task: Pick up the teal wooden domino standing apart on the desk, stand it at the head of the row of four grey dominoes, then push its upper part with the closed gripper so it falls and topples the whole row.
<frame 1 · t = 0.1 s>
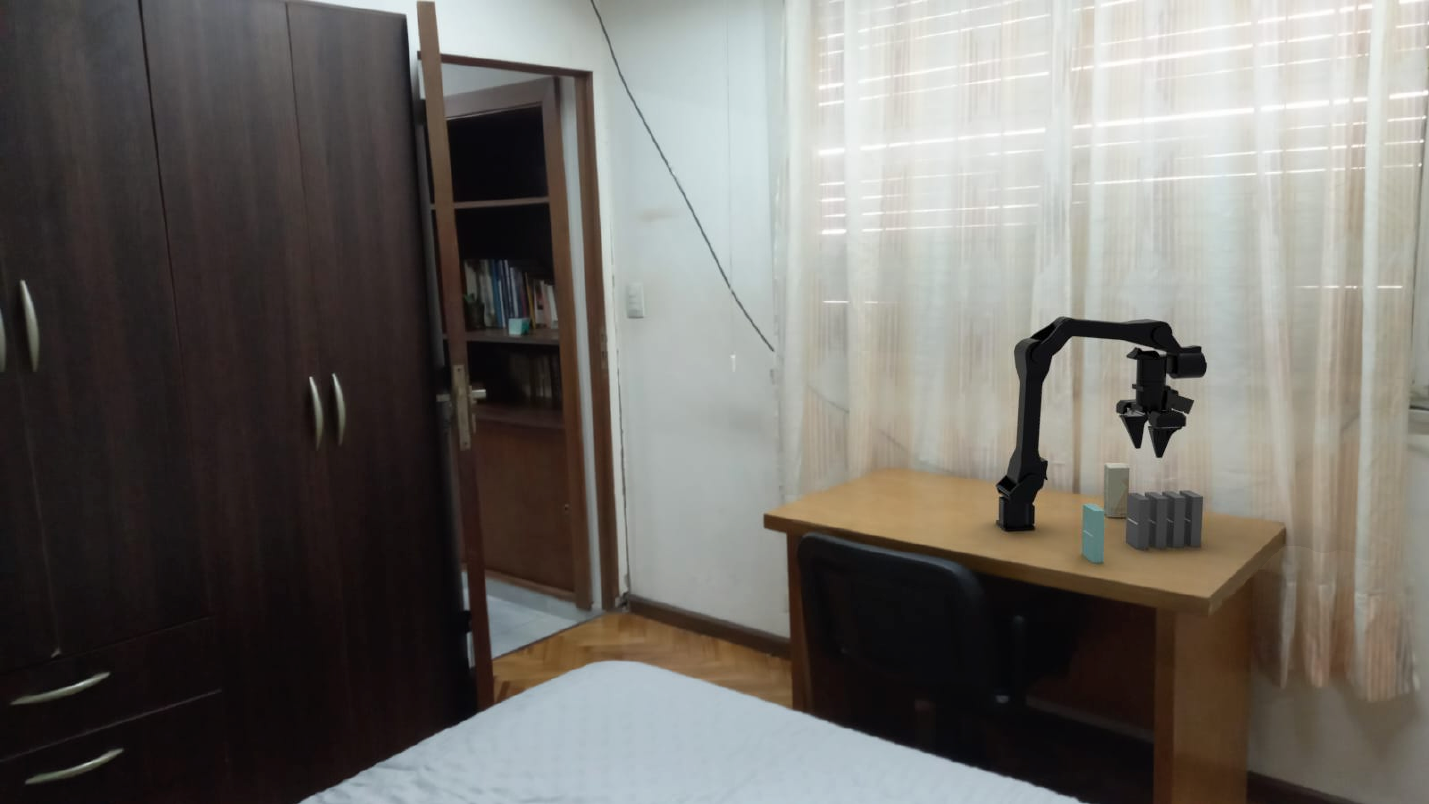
hand: (1148, 453, 202), 15 cm above the table, fingers open, 9 cm apart
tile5: (1189, 542, 188), on the table
box: (1115, 515, 209), on the table
tile3: (1154, 544, 188), on the table
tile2: (1136, 545, 188), on the table
head tile: (1092, 558, 182), on the table
tile4: (1171, 543, 188), on the table
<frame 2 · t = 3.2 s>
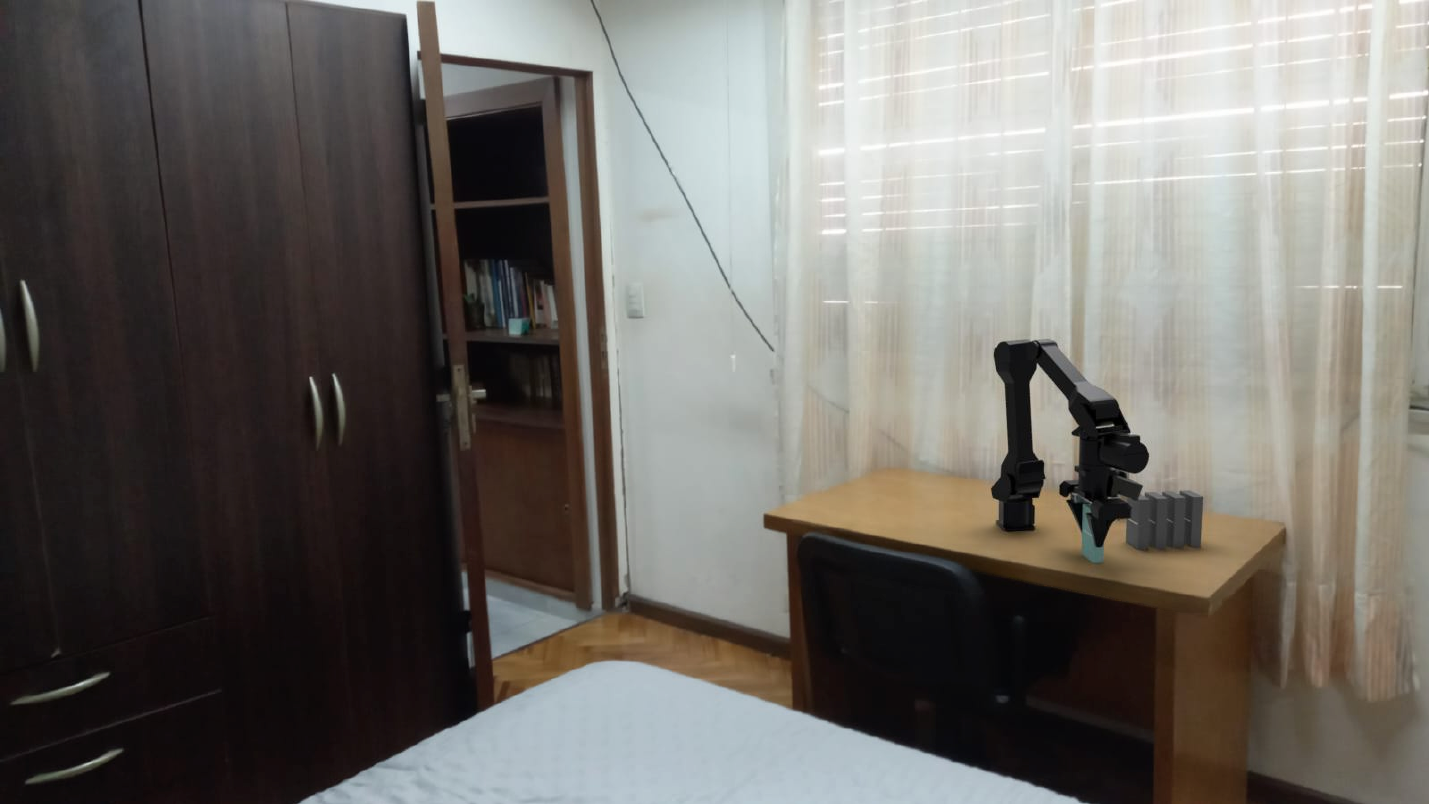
hand: (1092, 542, 181), 3 cm above the table, fingers closed on head tile, 5 cm apart
head tile: (1092, 558, 182), on the table, touching gripper
everything else where it was.
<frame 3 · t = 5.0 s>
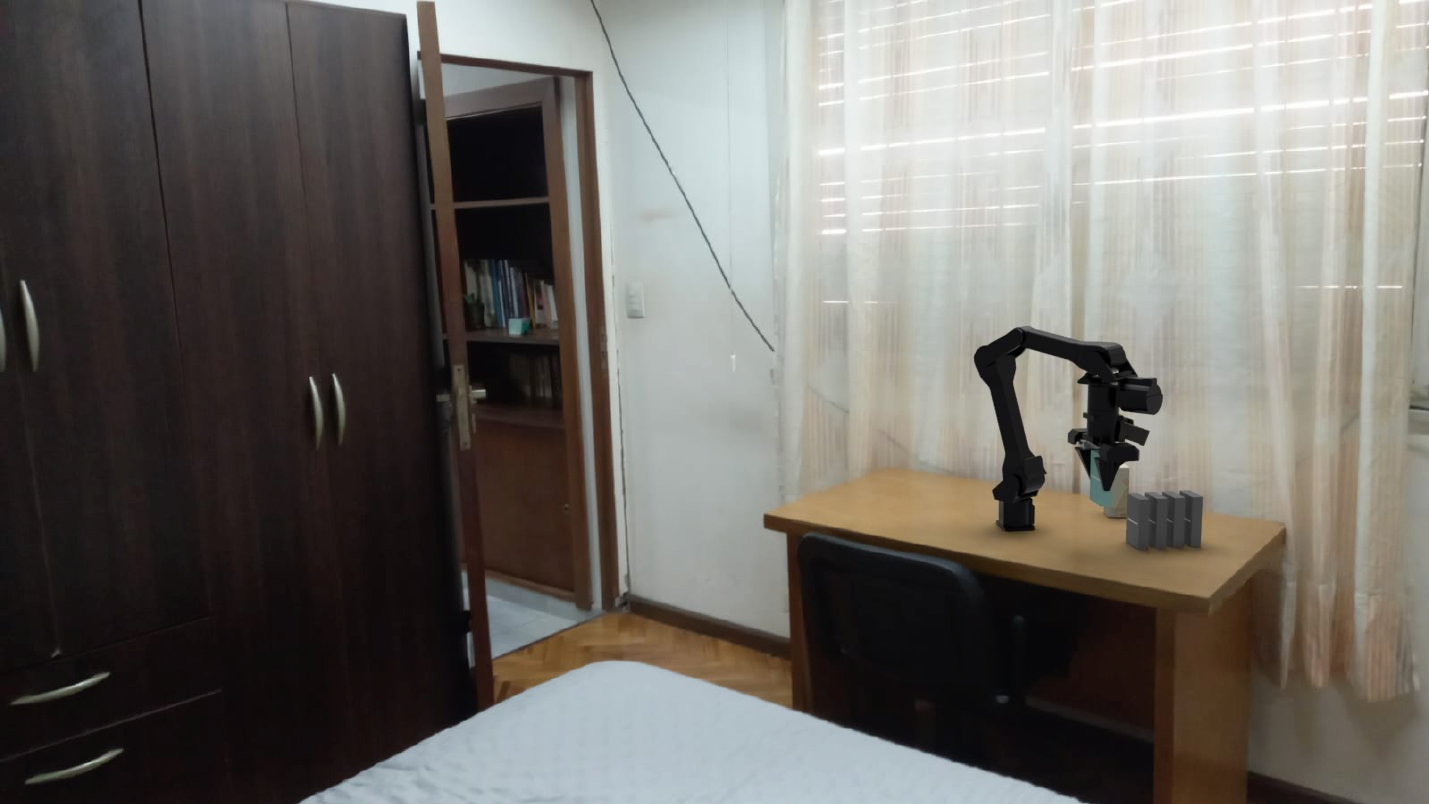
hand: (1100, 487, 186), 12 cm above the table, fingers closed on head tile, 5 cm apart
head tile: (1100, 502, 186), point 9 cm above the table, touching gripper
everything else where it was.
when the fingers open (3 cm above the table, at t = 6.8 s): head tile stays where it is, on the table.
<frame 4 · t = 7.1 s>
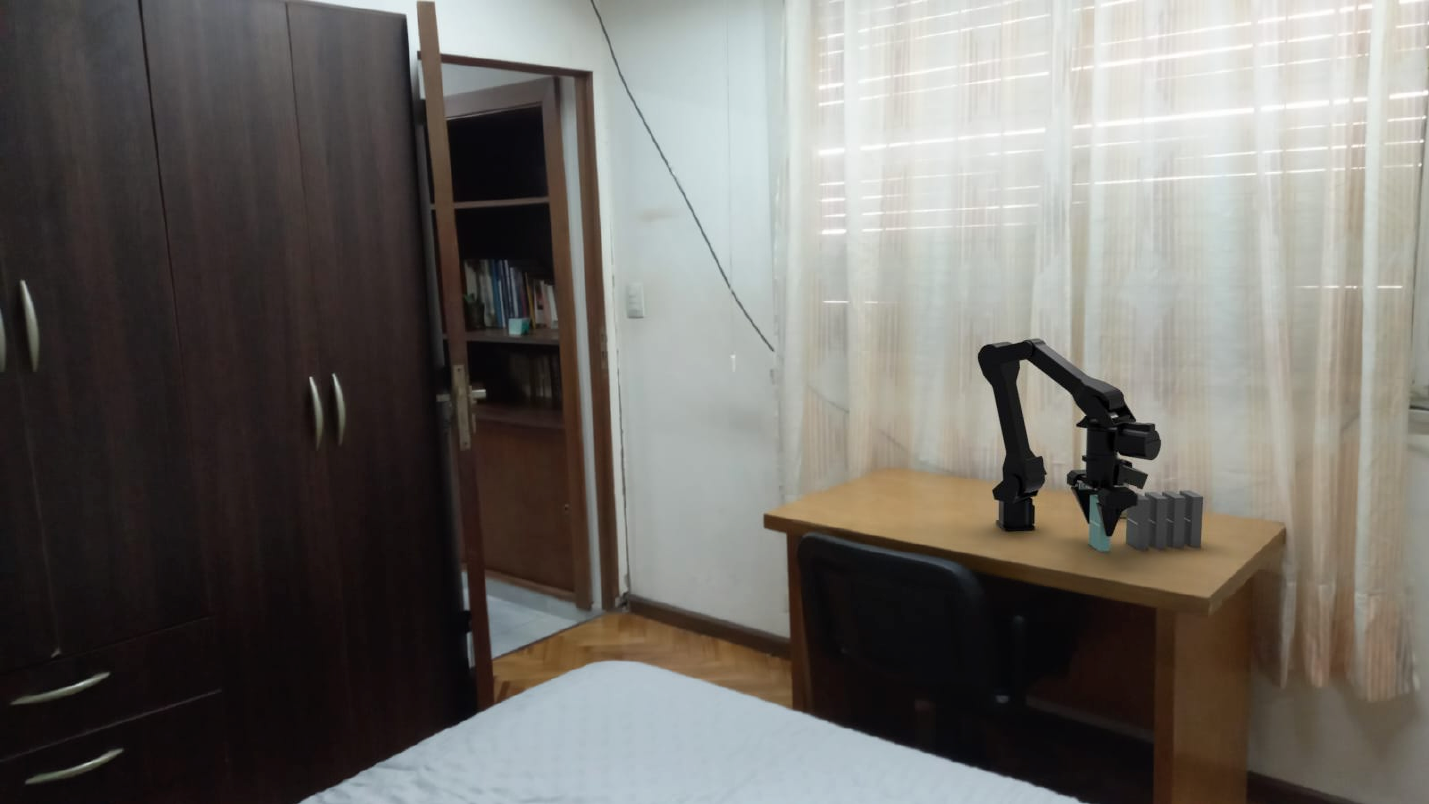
hand: (1099, 530, 187), 3 cm above the table, fingers open, 8 cm apart
head tile: (1099, 547, 188), on the table
everything else where it was.
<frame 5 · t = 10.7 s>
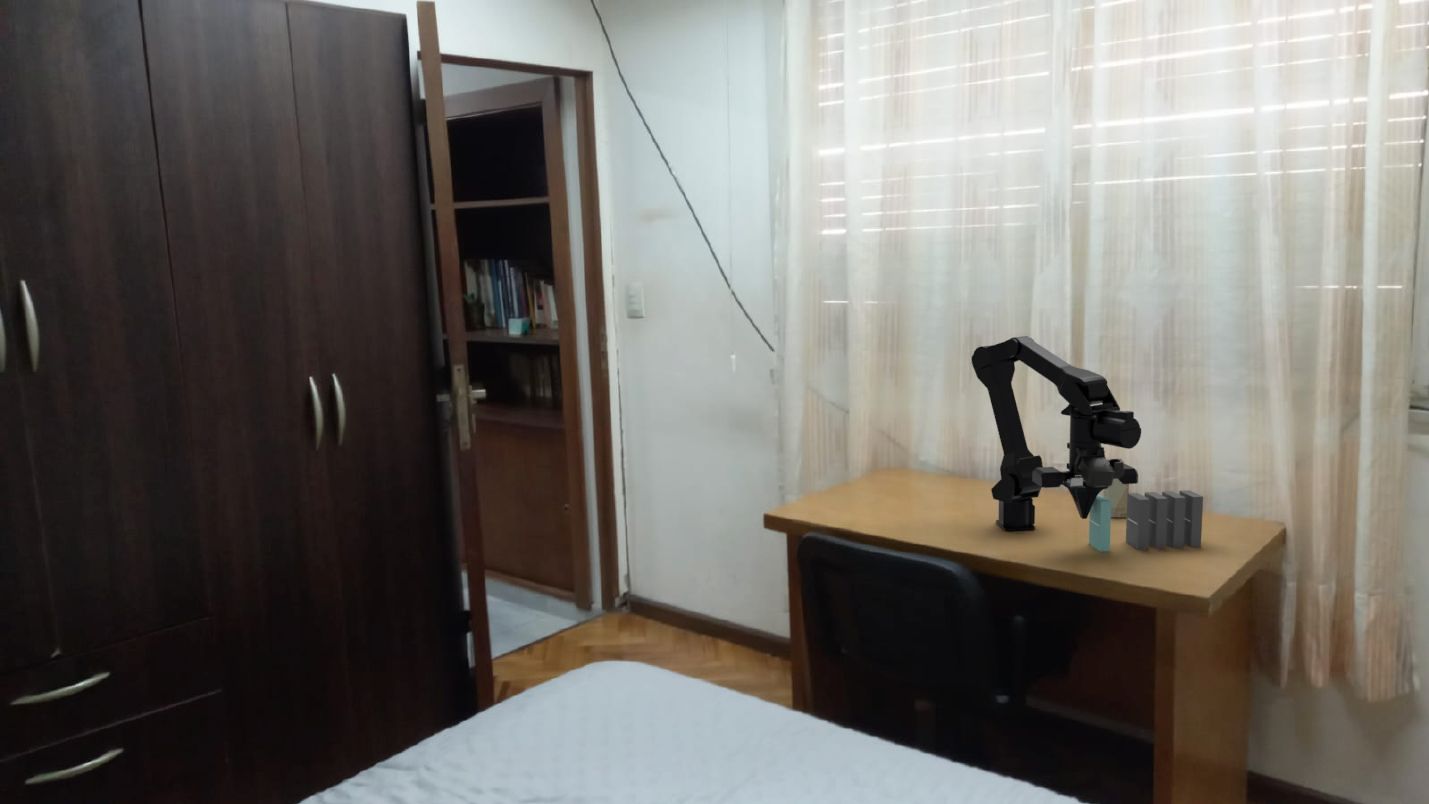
hand: (1083, 518, 186), 6 cm above the table, fingers closed
head tile: (1099, 547, 188), on the table, touching gripper
everything else where it was.
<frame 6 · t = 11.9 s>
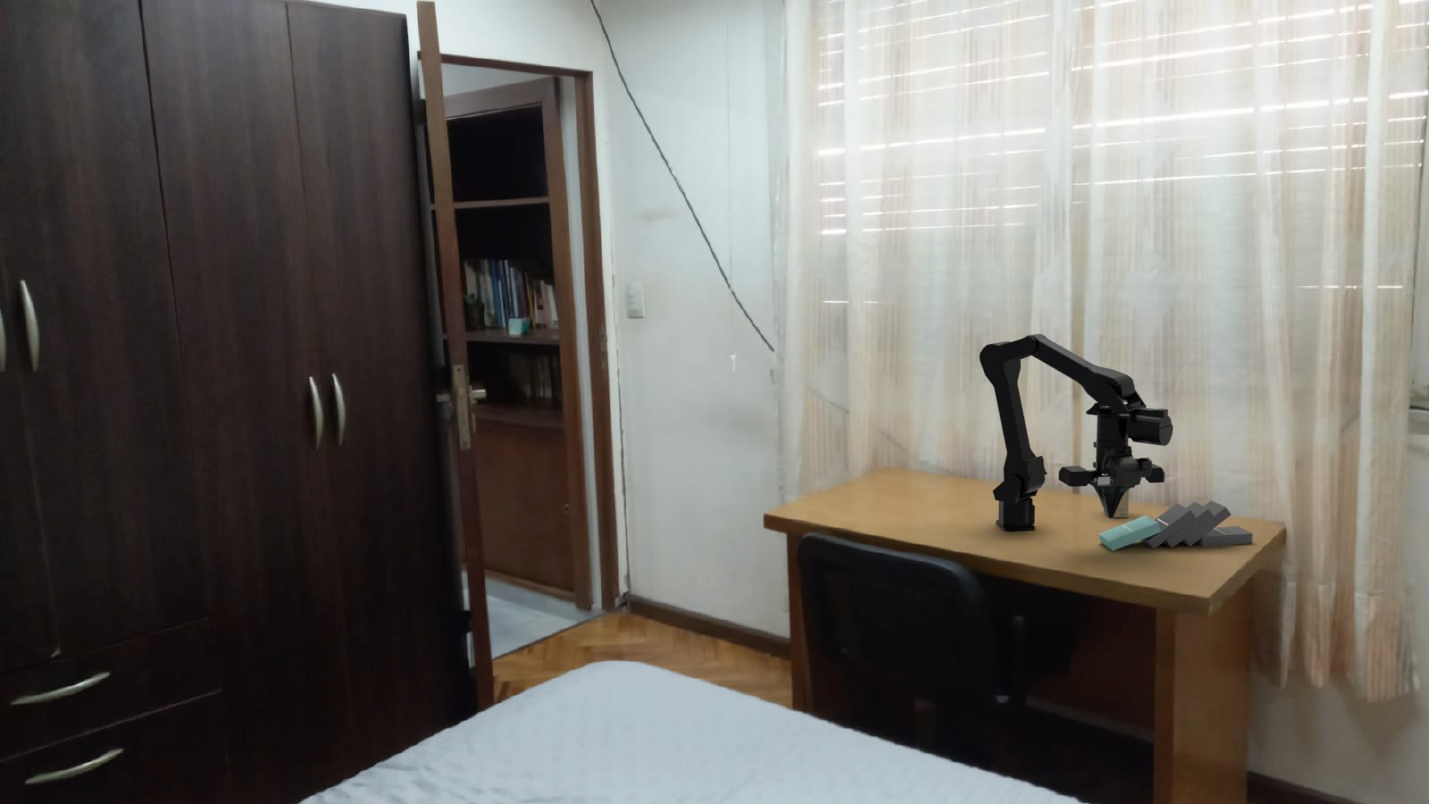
hand: (1109, 517, 187), 6 cm above the table, fingers closed
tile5: (1195, 538, 188), point 1 cm above the table, tilted 89°, touching tile4
tile3: (1162, 540, 188), point 1 cm above the table, tilted 53°, touching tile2, tile4
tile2: (1144, 541, 188), point 1 cm above the table, tilted 54°, touching head tile, tile3
head tile: (1105, 542, 187), point 1 cm above the table, tilted 70°, touching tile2
tile4: (1180, 538, 188), point 1 cm above the table, tilted 53°, touching tile3, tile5
everything else where it was.
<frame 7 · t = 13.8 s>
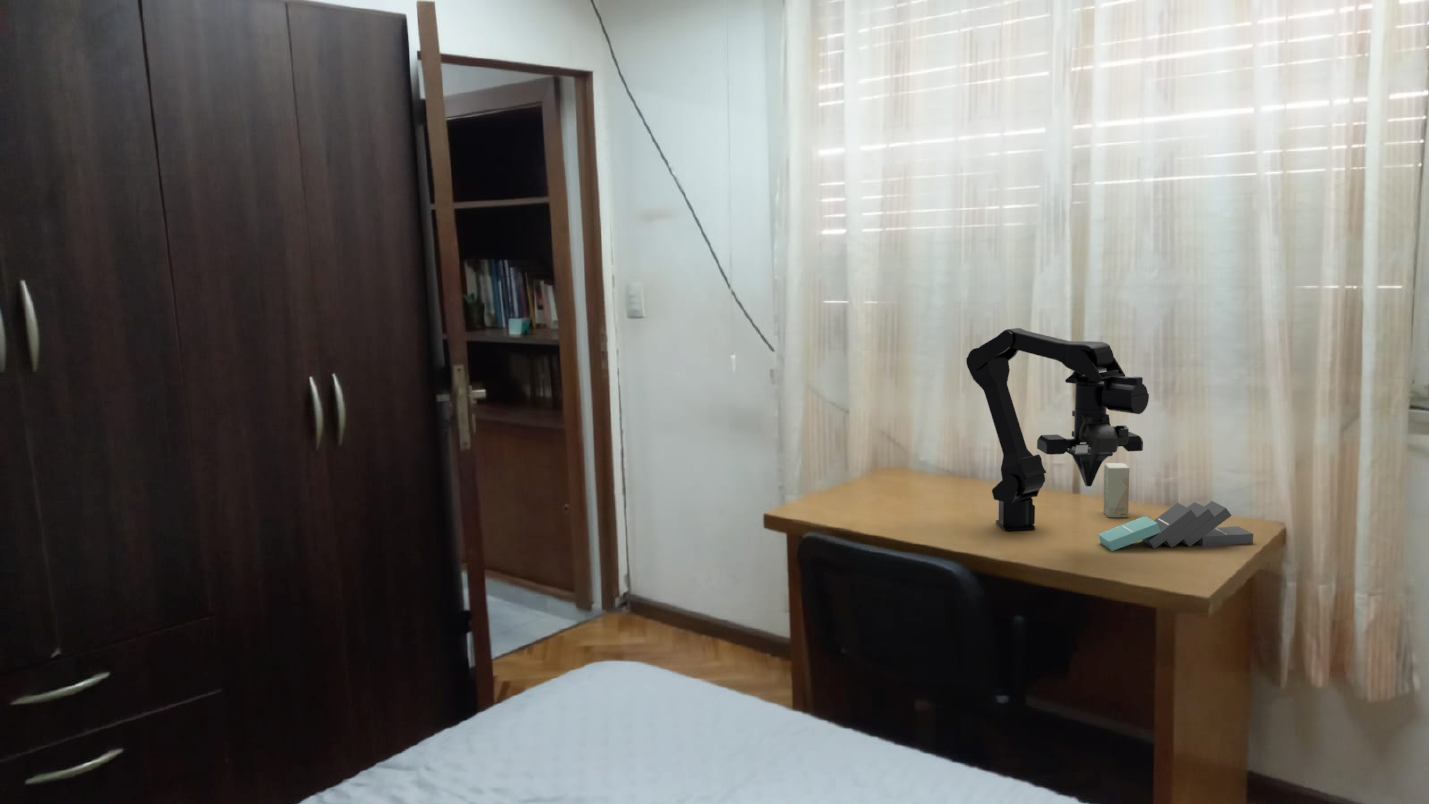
hand: (1088, 486, 187), 12 cm above the table, fingers closed
nothing on the table moved.
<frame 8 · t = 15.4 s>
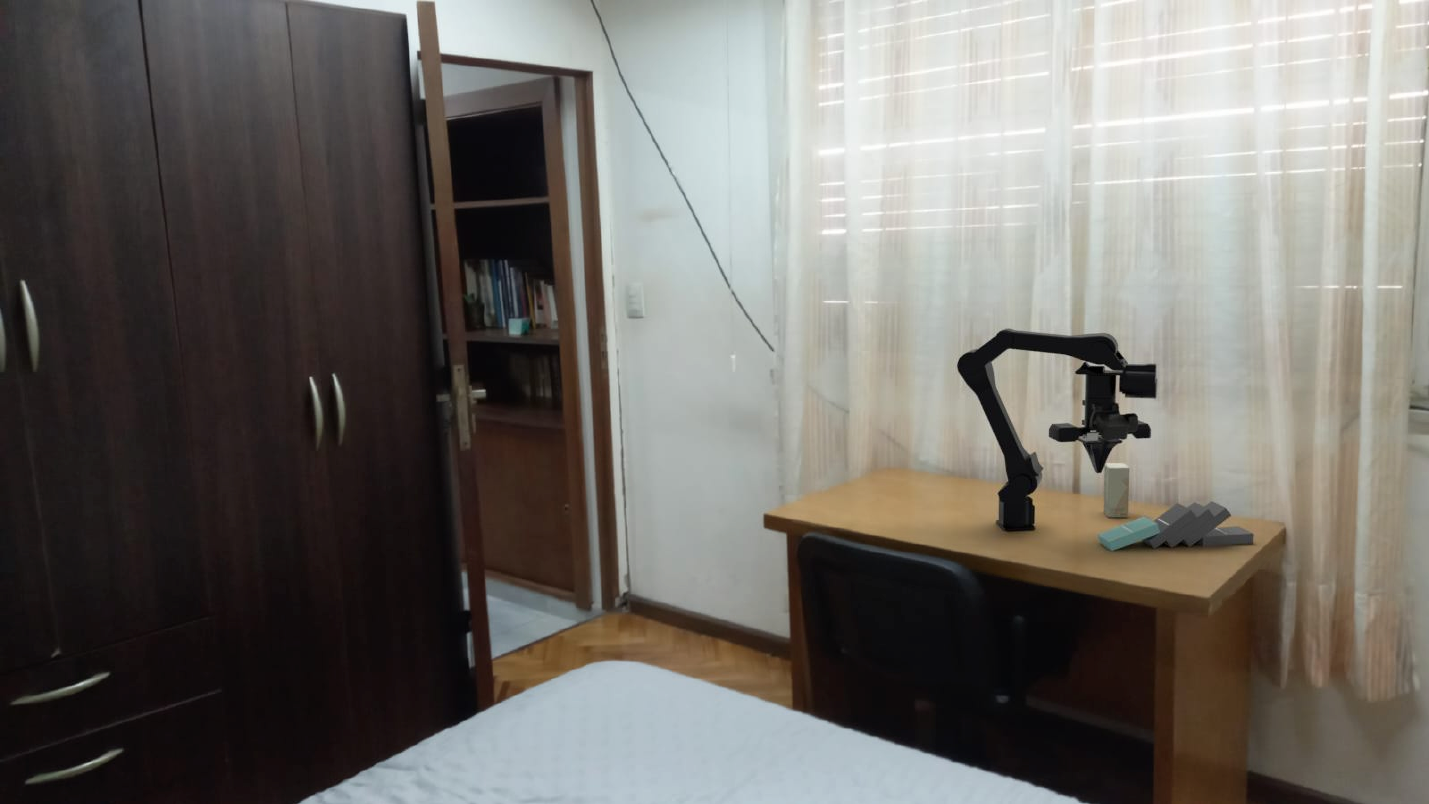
hand: (1098, 472, 193), 13 cm above the table, fingers closed
tile4: (1180, 539, 188), point 1 cm above the table, tilted 54°, touching tile3, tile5
everything else where it was.
at the end: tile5 tilted 90°; head tile tilted 71°; the gripper is holding nothing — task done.
